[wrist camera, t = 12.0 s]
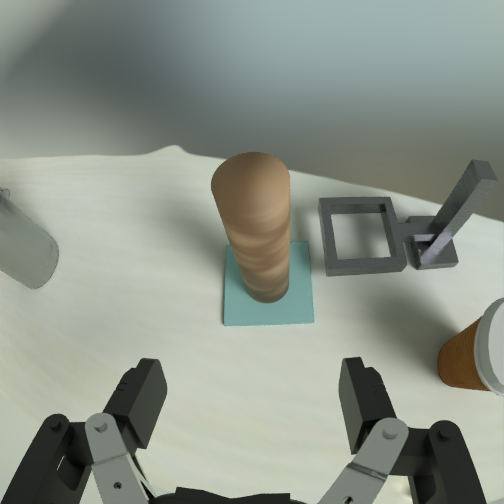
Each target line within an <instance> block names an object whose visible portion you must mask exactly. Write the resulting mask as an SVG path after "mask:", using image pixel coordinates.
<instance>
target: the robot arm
mask: <svg viewBox="0 0 504 504" xmlns="http://www.w3.org/2000/svg"><path fill="white" fill-rule="evenodd" d="M57 260H58V246H57V244H56V242H55V241H54V240H53V239H52V238H51V237H50V236H48V235H47V234H46V233H45V232H44V231H43V230H41V229H40V228H39V227H38V226H37V225H36V224H35V223H34V222H33V221H31V220H30V219H29V218H28V217H27V216H26V215H25V214H24V213H23V212H21V211H20V210H19V209H18V208H17V207H16V206H15V205H14V204H13V203H12V202H11V201H10V200H9V199H8V198H7V197H6V196H4V195H3V194H2V193H1V192H0V270H1V271H2V272H4V273H6V274H7V275H9V276H10V277H12V278H14V279H15V280H17V281H18V282H20V283H22V284H24V285H25V286H27V287H29V288H33V289H35V288H38V287H40V286H42V285H43V284H44V283H46V282H47V280H48V279H49V278H50V277H51V275H52V273H53V271H54V269H55V267H56V264H57ZM166 395H167V383H166V380H165V377H164V373H163V370H162V367H161V364H160V361H159V360H158V359H149V358H142V359H141V360H140V362H139V363H138V365H137V367H136V368H131V369H130V370H128V371H127V372H126V373H125V374H124V375H123V377H122V378H121V380H120V382H119V384H118V385H117V387H116V390H115V391H114V392H113V394H112V396H111V398H110V400H109V401H108V403H107V405H106V407H105V409H104V410H103V412H102V413H97V414H94V415H92V416H91V417H90V418H88V420H87V421H86V422H69V420H68V419H67V417H66V416H64V415H62V414H53V415H51V416H49V417H47V418H46V419H45V421H44V422H43V424H42V425H41V427H40V429H39V431H38V432H37V434H36V436H35V438H34V439H33V441H32V443H31V445H30V447H29V448H28V450H27V452H26V454H25V456H24V457H23V459H22V461H21V463H20V465H19V467H18V469H17V471H16V473H15V475H14V477H13V479H12V481H11V483H10V485H9V487H8V489H7V491H6V493H5V495H4V497H3V500H2V501H1V504H79V503H80V500H81V497H82V494H83V491H84V489H85V486H86V483H87V481H88V478H89V476H90V473H91V470H92V471H93V475H94V477H95V481H96V484H97V487H98V490H99V493H100V495H101V498H102V501H103V503H104V504H306V503H304V502H301V501H297V500H292V499H290V493H279V494H257V495H252V496H246V497H240V498H227V497H223V496H220V495H217V494H213V493H210V492H207V491H204V490H197V489H189V488H182V487H177V488H176V492H175V493H170V494H164V495H161V496H157V495H156V493H155V492H154V490H153V489H152V487H151V485H150V483H149V481H148V479H147V477H146V475H145V473H144V471H143V469H142V467H141V465H140V463H139V460H138V458H137V456H136V454H135V452H136V450H137V448H141V449H146V448H147V446H148V443H149V440H150V438H151V435H152V432H153V430H154V427H155V424H156V422H157V419H158V416H159V414H160V411H161V408H162V406H163V403H164V401H165V398H166ZM339 398H340V402H341V407H342V411H343V416H344V420H345V425H346V430H347V435H348V440H349V445H350V450H351V455H353V454H356V456H355V457H354V459H353V460H352V462H351V463H349V464H348V465H347V466H346V467H345V468H344V470H343V471H342V472H341V474H340V475H339V477H338V478H337V479H336V481H335V482H334V483H333V485H332V486H331V487H330V489H329V490H328V491H327V492H326V494H325V495H324V496H323V497H322V499H321V500H320V501H319V502H318V503H317V504H372V503H373V501H374V500H375V498H376V496H377V495H378V493H379V491H380V490H381V488H382V486H383V485H384V483H385V481H386V479H387V477H388V475H398V476H408V480H409V485H410V490H411V495H412V500H413V504H487V503H486V500H485V497H484V494H483V490H482V487H481V484H480V481H479V478H478V475H477V473H476V470H475V467H474V464H473V461H472V459H471V456H470V453H469V451H468V448H467V446H466V443H465V441H464V438H463V436H462V433H461V431H460V429H459V427H458V426H457V425H456V424H455V423H453V422H451V421H447V420H442V421H438V422H436V423H434V424H433V425H432V426H431V428H430V429H417V428H410V427H407V425H406V424H405V423H404V422H403V421H401V420H399V419H397V417H396V414H395V412H394V409H393V406H392V404H391V401H390V398H389V396H388V393H387V392H386V388H385V386H384V385H383V381H382V378H381V376H380V374H379V373H378V372H377V371H376V370H375V369H374V368H373V367H368V368H365V367H364V364H363V361H362V359H361V357H353V358H344V359H343V361H342V367H341V373H340V379H339ZM63 456H64V457H63ZM62 457H63V459H62ZM61 460H62V462H61V464H60V461H61ZM59 464H60V466H59ZM58 466H59V468H58ZM57 468H58V470H57Z"/></svg>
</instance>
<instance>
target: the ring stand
mask: <svg viewBox="0 0 504 504" xmlns="http://www.w3.org/2000/svg"><path fill="white" fill-rule="evenodd" d="M496 182H497V178H496V176H495V174H494V172H493V170H492V168H491V166H490V164H489V162H486V161H479V160H471V162H470V164H469V165H468V167H467V169H466V170H465V172H464V174H463V175H462V177H461V178H460V180H459V182H458V183H457V185H456V186H455V188H454V190H453V191H452V193H451V194H450V196H449V197H448V199H447V200H446V202H445V203H444V205H443V206H442V208H441V209H440V210H439V212H438V213H437V215H436V216H409V217H408V219H407V221H406V223H399V224H398V223H397V219H396V216H395V212H394V208H393V205H392V201H391V198H390V197H341V198H319V205H318V211H319V218H320V225H321V233H322V240H323V249H324V257H325V266H326V275H327V276H344V275H360V274H375V273H389V272H401V271H402V270H403V269H404V268H405V267H406V266H407V260H406V256H405V251H404V247H403V243H402V242H409V241H411V245H412V249H413V253H414V258H415V262H416V266H417V270H424V269H436V268H447V267H454V266H455V265H456V264H457V263H458V262H459V261H458V258H457V254H456V250H455V247H454V243H453V240H452V237H453V236H454V235H455V234H456V233H457V232H458V230H459V229H460V228H461V227H462V226H463V225H464V223H465V222H466V221H467V220H468V219H469V217H470V216H471V215H472V214H473V212H474V211H475V210H476V209H477V207H478V206H479V205H480V204H481V202H482V201H483V200H484V198H485V197H486V196H487V195H488V193H489V192H490V191H491V189H492V188H493V187H494V185H495V184H496ZM350 213H381V216H382V220H383V224H384V228H385V233H386V237H387V241H388V246H389V251H390V255H391V257H384V258H366V259H348V260H337V254H336V247H335V240H334V233H333V226H332V220H331V214H350Z"/></svg>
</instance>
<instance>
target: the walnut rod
mask: <svg viewBox="0 0 504 504" xmlns="http://www.w3.org/2000/svg"><path fill="white" fill-rule="evenodd" d="M211 190H212V193H213V196H214V199H215V202H216V205H217V208H218V210H219V213H220V216H221V219H222V222H223V225H224V227H225V230H226V233H227V236H228V239H229V242H230V244H231V247H232V250H233V253H234V256H235V258H236V261H237V264H238V267H239V270H240V272H241V275H242V278H243V281H244V283H245V286H246V289H247V292H248V293H249V295H250V296H251V297H252V298H253V299H254V300H256V301H258V302H260V303H266V304H268V303H274V302H277V301H278V300H280V299H281V298H283V297H284V295H285V294H286V293H287V291H288V288H289V268H290V175H289V172H288V169H287V168H286V166H285V165H284V164H283V163H282V162H281V161H280V160H279V159H277V158H276V157H274V156H271V155H269V154H265V153H259V152H249V153H243V154H239V155H236V156H233V157H231V158H229V159H228V160H226V161H225V162H223V163H222V164H221V165H220V166H219V167H218V168H217V170H216V171H215V173H214V175H213V177H212V181H211Z"/></svg>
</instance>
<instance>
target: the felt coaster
mask: <svg viewBox="0 0 504 504" xmlns="http://www.w3.org/2000/svg"><path fill="white" fill-rule="evenodd" d="M301 323H314V309H313V295H312V282H311V270H310V259H309V249H308V241H300V242H290V268H289V288H288V291H287V293H286V294H285V295H284V297H283V298H281V299H280V300H278V301H277V302H274V303H268V304H266V303H260V302H258V301H256V300H254V299H253V298H252V297H251V296H250V295H249V293H248V292H247V289H246V286H245V283H244V281H243V278H242V275H241V272H240V270H239V267H238V264H237V261H236V258H235V256H234V253H233V250H232V247H231V245H226V273H225V307H224V325H225V326H250V325H281V324H301Z"/></svg>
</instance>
